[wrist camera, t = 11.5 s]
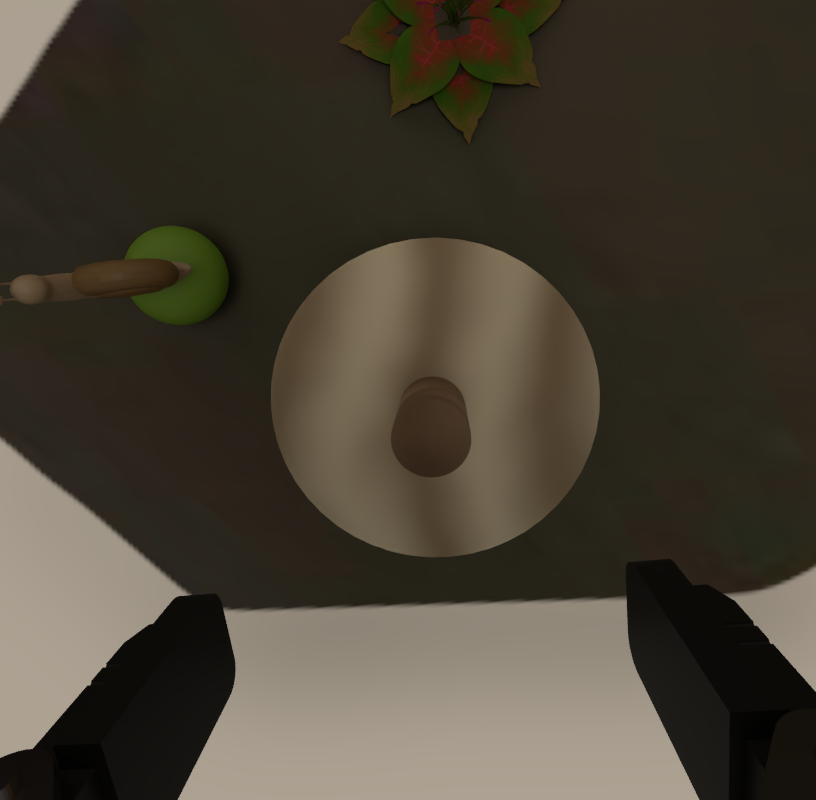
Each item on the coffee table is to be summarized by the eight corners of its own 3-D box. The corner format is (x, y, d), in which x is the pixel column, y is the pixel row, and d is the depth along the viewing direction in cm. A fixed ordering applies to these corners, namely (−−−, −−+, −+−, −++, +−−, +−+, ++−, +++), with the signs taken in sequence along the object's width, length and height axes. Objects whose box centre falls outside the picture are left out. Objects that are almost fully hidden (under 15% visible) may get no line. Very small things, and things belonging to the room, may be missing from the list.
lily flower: (473, 186, 31) (478, 170, 26) (303, 54, 30) (279, 15, 26) (611, -10, 28) (643, -63, 24) (430, -161, 27) (428, -246, 23)
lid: (585, 217, 25) (631, 199, 19) (601, 534, 28) (643, 602, 22) (249, 262, 26) (194, 258, 20) (305, 559, 29) (271, 630, 24)
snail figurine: (129, 241, 32) (-44, 223, 21) (230, 222, 32) (110, 192, 20) (153, 330, 34) (3, 360, 22) (251, 312, 33) (150, 334, 21)
